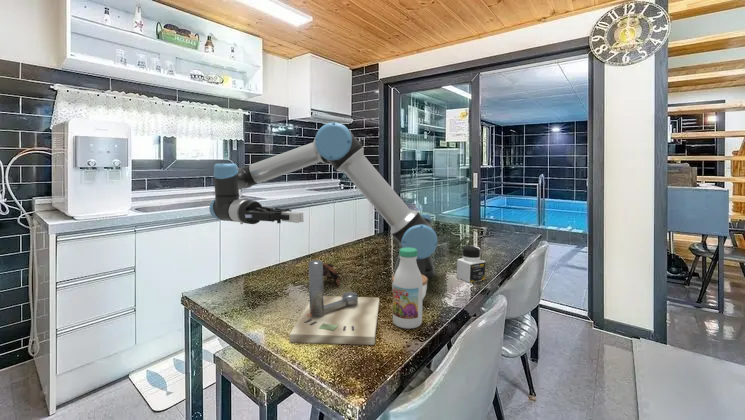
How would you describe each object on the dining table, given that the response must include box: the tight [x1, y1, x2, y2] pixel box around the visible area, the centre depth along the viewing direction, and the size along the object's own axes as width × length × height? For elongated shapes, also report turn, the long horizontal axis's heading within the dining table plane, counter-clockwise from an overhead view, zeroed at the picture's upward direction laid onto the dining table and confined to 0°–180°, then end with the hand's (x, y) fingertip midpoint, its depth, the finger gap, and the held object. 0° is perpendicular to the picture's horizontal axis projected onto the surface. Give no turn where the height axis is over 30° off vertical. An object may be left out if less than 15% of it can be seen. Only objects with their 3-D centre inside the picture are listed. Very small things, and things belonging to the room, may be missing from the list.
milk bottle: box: [392, 247, 424, 330], centre depth 93 cm, size 8×8×20 cm
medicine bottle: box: [456, 245, 486, 284], centre depth 128 cm, size 7×7×12 cm
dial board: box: [289, 295, 380, 346], centre depth 95 cm, size 20×24×2 cm
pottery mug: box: [323, 263, 341, 287], centre depth 124 cm, size 12×10×8 cm
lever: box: [307, 259, 359, 317], centre depth 96 cm, size 16×4×14 cm, turn 131°
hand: (300, 217), depth 104 cm, fingers closed
